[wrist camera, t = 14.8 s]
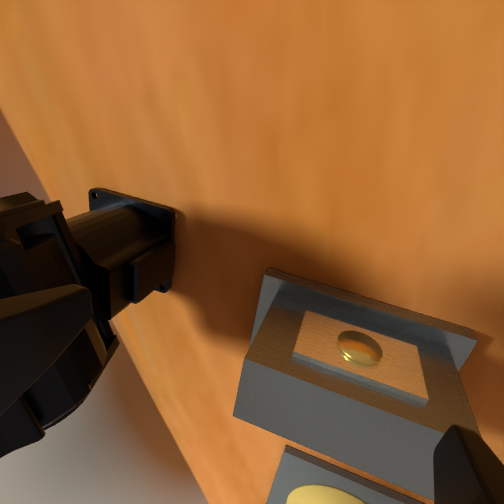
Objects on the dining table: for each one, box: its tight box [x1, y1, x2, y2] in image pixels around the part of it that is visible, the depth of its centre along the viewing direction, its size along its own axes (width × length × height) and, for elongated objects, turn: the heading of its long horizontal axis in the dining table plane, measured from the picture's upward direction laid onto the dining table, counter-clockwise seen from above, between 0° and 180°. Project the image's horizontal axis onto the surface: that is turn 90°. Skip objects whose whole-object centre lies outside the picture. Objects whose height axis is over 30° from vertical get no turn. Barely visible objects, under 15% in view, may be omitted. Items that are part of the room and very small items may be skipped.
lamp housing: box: [233, 268, 482, 501], centre depth 17 cm, size 12×6×7 cm, turn 80°
